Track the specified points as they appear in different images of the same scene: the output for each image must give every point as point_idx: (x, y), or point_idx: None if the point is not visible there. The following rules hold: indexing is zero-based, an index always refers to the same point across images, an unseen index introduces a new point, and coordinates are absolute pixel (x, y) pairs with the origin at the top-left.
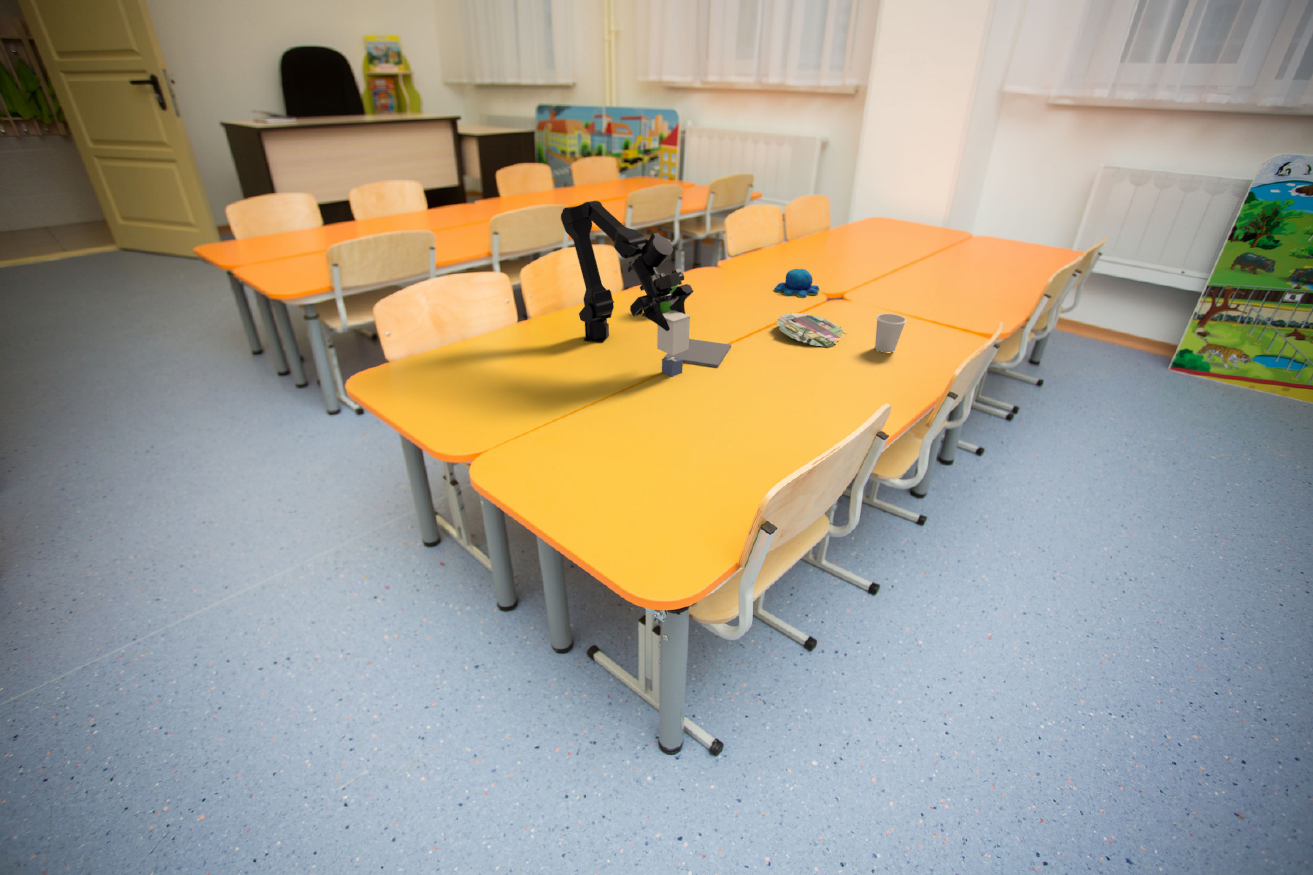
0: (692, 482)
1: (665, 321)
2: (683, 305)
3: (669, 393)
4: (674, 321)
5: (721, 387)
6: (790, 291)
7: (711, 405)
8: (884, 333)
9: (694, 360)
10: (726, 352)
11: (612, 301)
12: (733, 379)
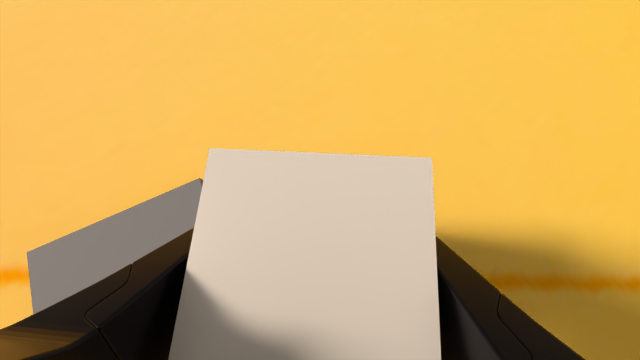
0: None
1: (443, 261)
2: (54, 313)
3: (440, 165)
4: (416, 160)
5: (305, 96)
6: None
7: (401, 54)
8: None
9: None
10: (95, 223)
11: None
12: (244, 105)
